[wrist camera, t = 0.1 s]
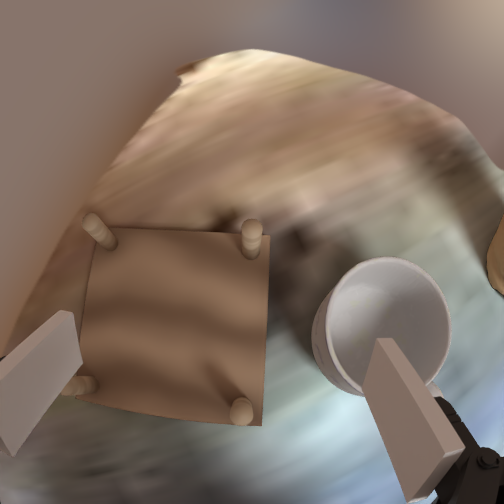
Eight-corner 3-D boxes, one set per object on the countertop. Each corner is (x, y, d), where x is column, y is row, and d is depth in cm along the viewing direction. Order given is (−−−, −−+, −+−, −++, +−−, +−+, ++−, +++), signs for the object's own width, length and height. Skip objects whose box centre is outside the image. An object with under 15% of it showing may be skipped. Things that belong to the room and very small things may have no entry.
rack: (260, 423, 25) (265, 439, 19) (82, 397, 25) (46, 401, 19) (269, 241, 31) (275, 209, 25) (105, 233, 31) (78, 203, 25)
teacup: (286, 305, 29) (301, 283, 21) (384, 267, 30) (421, 236, 23) (338, 442, 24) (370, 464, 17) (432, 390, 26) (481, 390, 18)
